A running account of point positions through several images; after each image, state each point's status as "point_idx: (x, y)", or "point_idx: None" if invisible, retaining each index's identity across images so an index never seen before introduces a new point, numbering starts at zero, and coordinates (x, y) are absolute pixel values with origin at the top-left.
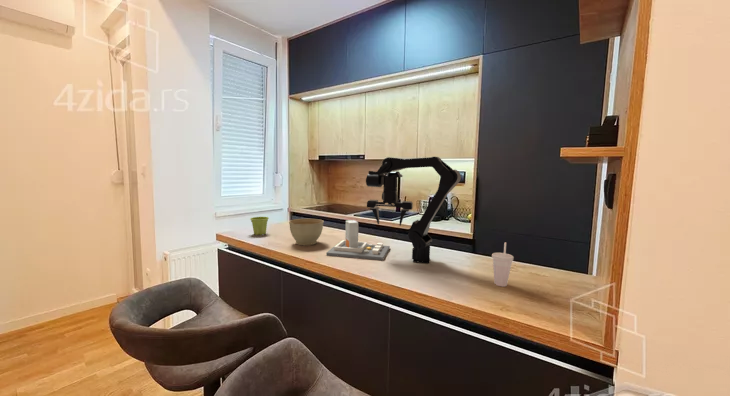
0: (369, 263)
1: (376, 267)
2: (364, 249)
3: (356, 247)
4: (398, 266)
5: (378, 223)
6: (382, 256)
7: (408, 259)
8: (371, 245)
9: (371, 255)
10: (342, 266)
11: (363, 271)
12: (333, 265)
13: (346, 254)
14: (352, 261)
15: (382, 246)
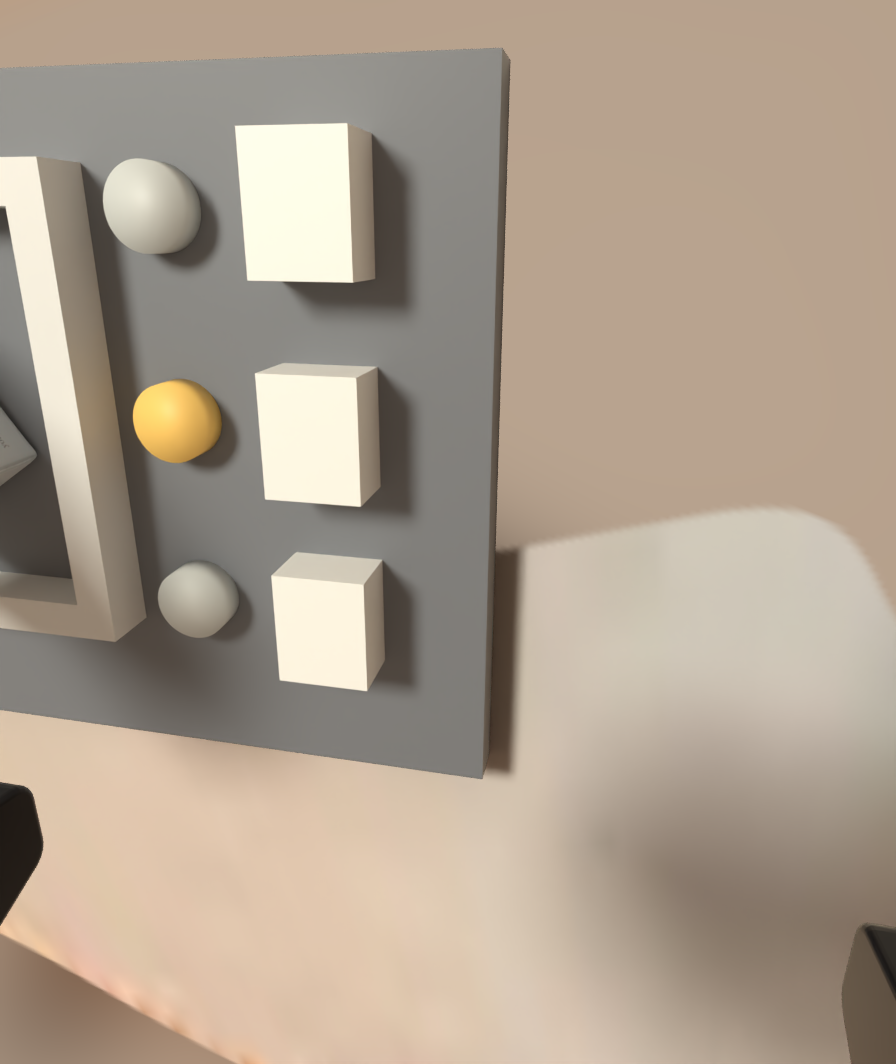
0: (353, 864)
1: (454, 967)
2: (130, 449)
3: (2, 477)
4: (703, 934)
5: (19, 886)
6: (467, 743)
7: (871, 669)
8: (164, 252)
9: (313, 719)
10: (135, 952)
11: (356, 1055)
12: (52, 932)
13: (17, 711)
14: (162, 819)
15: (369, 203)
